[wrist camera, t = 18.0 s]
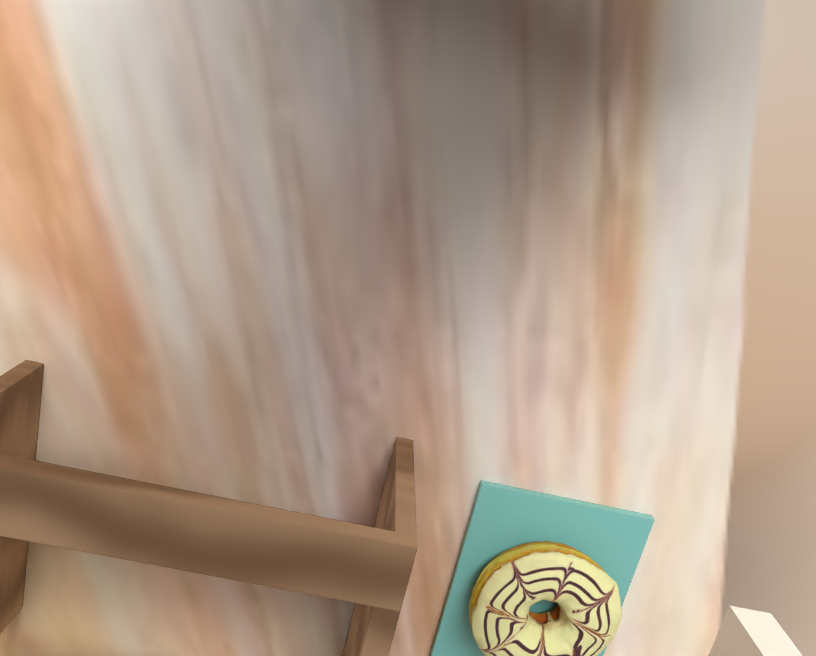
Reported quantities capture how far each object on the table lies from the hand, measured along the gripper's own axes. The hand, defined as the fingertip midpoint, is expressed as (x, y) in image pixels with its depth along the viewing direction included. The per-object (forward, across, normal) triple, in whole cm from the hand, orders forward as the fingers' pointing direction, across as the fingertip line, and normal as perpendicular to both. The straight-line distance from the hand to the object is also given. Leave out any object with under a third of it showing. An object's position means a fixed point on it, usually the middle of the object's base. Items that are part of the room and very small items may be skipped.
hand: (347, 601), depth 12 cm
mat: (+34, +17, -23) cm, 45 cm away
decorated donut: (+34, +17, -23) cm, 44 cm away
